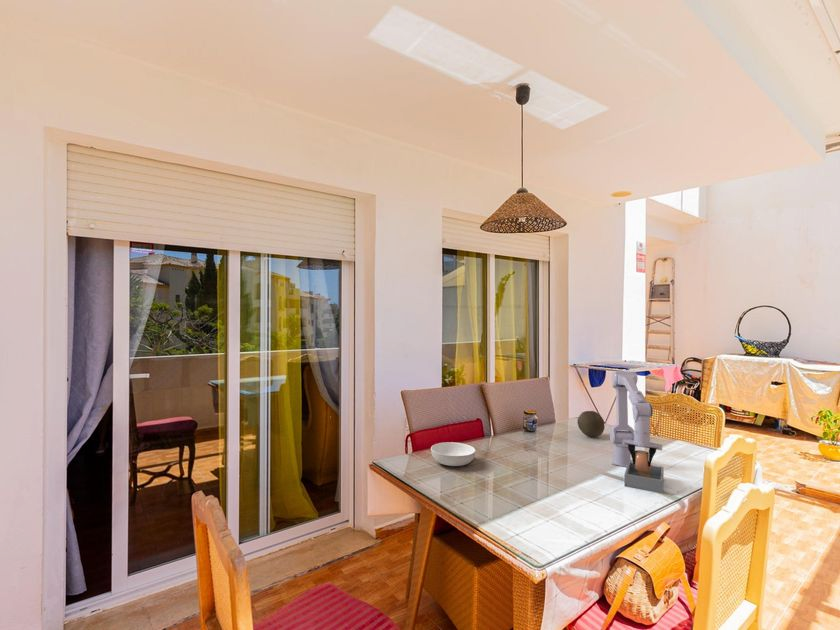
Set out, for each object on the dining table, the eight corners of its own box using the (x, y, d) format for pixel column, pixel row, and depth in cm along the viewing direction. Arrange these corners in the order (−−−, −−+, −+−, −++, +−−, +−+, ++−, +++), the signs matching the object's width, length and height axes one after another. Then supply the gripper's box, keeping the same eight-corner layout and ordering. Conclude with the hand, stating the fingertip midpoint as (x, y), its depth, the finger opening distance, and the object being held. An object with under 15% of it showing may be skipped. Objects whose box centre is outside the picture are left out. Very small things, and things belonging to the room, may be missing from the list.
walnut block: (638, 474, 186) (638, 463, 186) (651, 476, 184) (652, 465, 184) (637, 478, 182) (637, 466, 182) (651, 480, 179) (651, 468, 179)
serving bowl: (470, 473, 188) (470, 458, 188) (424, 467, 195) (425, 452, 195) (479, 458, 207) (479, 444, 207) (437, 453, 214) (438, 439, 214)
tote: (628, 472, 191) (628, 461, 191) (663, 479, 184) (663, 467, 184) (624, 486, 176) (624, 473, 176) (662, 493, 169) (662, 480, 169)
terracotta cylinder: (635, 466, 181) (635, 449, 180) (648, 468, 178) (649, 451, 178) (634, 469, 176) (634, 452, 176) (648, 472, 174) (648, 454, 174)
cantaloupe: (585, 432, 256) (586, 407, 256) (608, 438, 245) (609, 411, 245) (572, 436, 247) (573, 410, 247) (596, 442, 236) (596, 415, 236)
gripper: (621, 431, 177) (621, 464, 177) (661, 436, 170) (661, 471, 170) (623, 427, 184) (623, 459, 184) (662, 432, 176) (662, 465, 176)
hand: (641, 464), depth 177 cm, fingers closed on terracotta cylinder, 5 cm apart
